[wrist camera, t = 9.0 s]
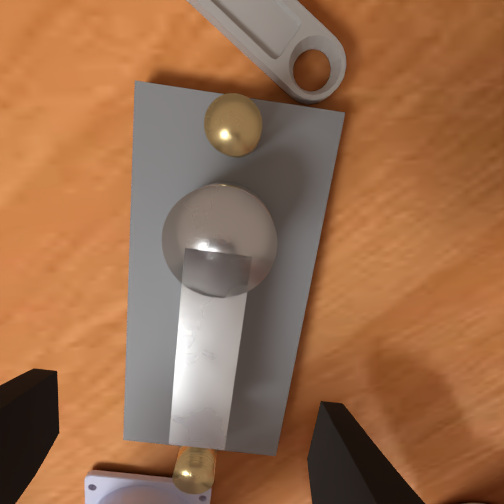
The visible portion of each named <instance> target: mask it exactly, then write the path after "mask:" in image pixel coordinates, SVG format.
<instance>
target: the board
mask: <svg viewBox="0 0 504 504" xmlns="http://www.w3.org/2000/svg"><path fill="white" fill-rule="evenodd" d="M221 95H224V94H220V93H214V92H207V91H200V90H194V89H187V88H181V87H174V86H167V85H161V84H154V83H148V82H141V81H135V92H134V124H133V155H132V186H131V218H130V249H129V280H128V312H127V343H126V374H125V406H124V437H123V440H129V441H138V442H148V443H157V444H166V445H171V444H169V434H170V422H171V410H172V397H173V385H174V373H175V361H176V349H177V336H178V324H179V312H180V300H181V287H182V283H181V282H180V281H179V280H178V279H177V278H176V277H175V276H174V275H173V273H172V272H171V271H170V269H169V267H168V265H167V263H166V261H165V258H164V255H163V251H162V229H163V226H164V222H165V220H166V218H167V215H168V214H169V212H170V210H171V209H172V208H173V206H174V205H175V204H176V203H177V202H178V201H179V200H180V199H181V198H182V197H184V196H185V195H187V194H188V193H190V192H192V191H194V190H196V189H199V188H201V187H204V186H206V185H209V184H212V183H216V182H234V183H238V184H241V185H244V186H246V187H248V188H249V189H251V190H252V191H254V192H255V193H256V194H257V195H258V196H259V197H260V198H261V199H262V200H263V201H264V203H265V205H266V206H267V208H268V210H269V213H270V215H271V218H272V220H273V223H274V226H275V229H276V234H277V253H276V257H275V261H274V263H273V266H272V268H271V270H270V271H269V273H268V274H267V276H266V277H265V278H264V279H263V280H262V282H261V283H260V284H258V285H257V286H256V287H255V288H253V289H251V290H250V291H248V292H247V297H246V304H245V311H244V318H243V325H242V332H241V339H240V346H239V353H238V360H237V367H236V374H235V381H234V388H233V395H232V402H231V408H230V415H229V422H228V429H227V436H226V443H225V450H223V451H232V452H241V453H251V454H260V455H270V456H276V453H277V448H278V443H279V438H280V433H281V428H282V423H283V418H284V413H285V408H286V403H287V398H288V394H289V389H290V384H291V379H292V374H293V369H294V364H295V359H296V354H297V349H298V344H299V339H300V334H301V329H302V324H303V319H304V314H305V309H306V304H307V299H308V295H309V290H310V285H311V280H312V275H313V270H314V265H315V260H316V255H317V250H318V245H319V240H320V235H321V230H322V225H323V220H324V215H325V210H326V205H327V200H328V196H329V191H330V186H331V181H332V176H333V171H334V166H335V161H336V156H337V151H338V146H339V141H340V136H341V131H342V126H343V121H344V116H345V112H339V111H332V110H326V109H319V108H312V107H306V106H299V105H293V104H286V103H280V102H273V101H266V100H260V99H253V98H249V99H251V100H252V101H253V102H254V103H255V105H256V106H257V108H258V109H259V111H260V114H261V117H262V132H261V136H260V139H259V142H258V145H257V147H256V148H255V150H254V151H253V152H252V153H251V154H249V155H247V156H245V157H242V158H233V157H230V156H227V155H225V154H223V153H221V152H219V151H218V150H216V149H215V148H214V147H213V146H212V145H211V144H210V142H209V141H208V139H207V136H206V134H205V129H204V118H205V114H206V111H207V109H208V107H209V105H210V104H211V103H212V102H213V101H214V100H215V99H216V98H218V97H219V96H221ZM176 446H180V445H176Z"/></svg>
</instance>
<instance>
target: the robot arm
mask: <svg viewBox="0 0 504 504" xmlns="http://www.w3.org/2000/svg"><path fill="white" fill-rule="evenodd" d="M58 434H59V411H58V382H57V371H52V370H43V369H32V370H30V371H28V372H26V373H24V374H22V375H20V376H18V377H16V378H14V379H12V380H10V381H8V382H6V383H4V384H2V385H0V504H15V503H16V502H17V500H18V499H19V498H20V496H21V495H22V493H23V492H24V490H25V489H26V488H27V486H28V485H29V483H30V482H31V480H32V479H33V477H34V476H35V475H36V473H37V471H38V469H39V468H40V466H41V464H42V463H43V461H44V459H45V457H46V456H47V454H48V452H49V450H50V449H51V447H52V445H53V443H54V441H55V439H56V438H57V436H58ZM307 460H308V470H309V479H310V488H311V496H312V504H425V503H424V502H423V501H422V500H421V498H420V497H419V496H418V495H417V494H416V493H415V492H414V490H413V489H412V488H411V487H410V486H409V485H408V483H407V482H406V481H405V480H404V479H403V478H402V476H401V475H400V474H399V473H398V472H397V471H396V469H395V468H394V467H393V466H392V464H391V463H390V462H389V461H388V460H387V458H386V457H385V456H384V455H383V454H382V452H381V451H380V450H379V449H378V447H377V446H376V445H375V444H374V442H373V441H372V440H371V439H370V437H369V436H368V435H367V434H366V432H365V431H364V430H363V429H362V427H361V426H360V425H359V423H358V422H357V421H356V420H355V418H354V417H353V416H352V415H351V413H350V412H349V411H348V410H347V408H346V407H345V406H344V405H343V404H342V403H333V402H324V401H321V403H320V408H319V412H318V416H317V420H316V424H315V429H314V433H313V437H312V441H311V446H310V450H309V454H308V458H307ZM211 491H212V487H211V488H210V489H209V490H208V491H206V492H204V493H201V494H187V493H184V492H182V491H180V490H179V489H178V488H177V487H176V486H175V485H174V483H173V479H172V478H169V477H160V476H150V475H140V474H130V473H121V472H111V471H101V470H91V471H89V472H88V473H87V475H86V477H85V504H210V499H211Z"/></svg>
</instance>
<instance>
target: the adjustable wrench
mask: <svg viewBox="0 0 504 504" xmlns="http://www.w3.org/2000/svg"><path fill="white" fill-rule="evenodd" d="M187 1H188V2H189V3H190V4H191V5H192V6H193V7H194V8H195V9H196V10H197V11H198V12H199V13H201V14H202V15H203V16H204V17H205V18H206V19H207V20H208V21H209V22H210V23H211V24H212V25H213V26H215V27H216V28H217V29H218V30H219V31H220V32H221V33H222V34H223V35H224V36H225V37H226V38H228V39H229V40H230V41H231V42H232V43H233V44H234V45H235V46H236V47H237V48H238V49H239V50H240V51H242V52H243V53H244V54H245V55H246V56H247V57H248V58H249V59H250V60H251V61H252V62H253V63H254V64H256V65H257V66H258V67H259V68H260V69H261V70H262V71H263V72H264V73H265V74H266V75H267V76H269V77H270V78H271V79H272V80H273V81H274V82H275V83H276V84H277V85H278V86H279V87H280V88H281V89H283V90H284V91H285V92H286V93H287V94H288V95H289V96H290V97H291V98H293V99H294V100H296V101H297V102H299V103H303V104H308V105H309V104H316V103H319V102H321V101H323V100H325V99H326V98H327V97H328V96H330V95H331V94H332V93H333V92H334V91H335V90H336V89H337V88H338V87H339V85H340V83H341V82H342V80H343V78H344V74H345V70H346V55H345V52H344V49H343V46H342V44H341V43H340V42H339V40H338V39H337V38H336V37H335V36H334V35H333V34H332V33H331V32H330V31H329V30H328V29H327V28H326V27H325V26H324V25H323V24H322V23H320V22H319V21H318V20H317V19H316V18H315V17H314V16H313V15H312V14H311V13H310V12H309V11H308V10H307V9H306V8H305V7H304V6H303V5H301V4H300V3H299V2H298V1H297V0H187ZM310 49H316V50H320V51H321V52H323V53H324V54H325V55H326V56H327V58H328V59H329V62H330V67H331V72H330V77H329V79H328V81H327V83H326V84H325V85H324V86H323V87H322V88H321V89H319V90H317V91H311V92H310V91H305V90H303V89H302V88H300V87H299V86H298V85H297V83H296V82H295V79H294V77H293V67H294V63H295V61H296V59H297V57H298V56H299V55H300V54H301V53H302V52H304V51H306V50H310Z"/></svg>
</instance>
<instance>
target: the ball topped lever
mask: <svg viewBox="0 0 504 504" xmlns="http://www.w3.org/2000/svg"><path fill="white" fill-rule="evenodd" d="M162 251H163V255H164V258H165V261H166V263H167V265H168V267H169V269H170V271H171V272H172V273H173V275H174V276H175V277H176V278H177V279H178V280H179V281H180V282H181V283H182V287H181V300H180V312H179V324H178V336H177V349H176V361H175V373H174V385H173V397H172V410H171V422H170V434H169V444H171V445H180V446H190V447H199V448H208V449H218V450H225V443H226V436H227V429H228V422H229V415H230V408H231V402H232V395H233V388H234V381H235V374H236V367H237V360H238V353H239V346H240V339H241V332H242V325H243V318H244V311H245V304H246V297H247V292H248V291H250V290H251V289H253V288H255V287H256V286H257V285H258V284H260V283H261V282H262V280H263V279H264V278H265V277H266V276H267V274H268V273H269V271H270V270H271V268H272V266H273V263H274V261H275V257H276V253H277V234H276V229H275V226H274V223H273V220H272V218H271V215H270V213H269V210H268V208H267V206H266V205H265V203H264V201H263V200H262V199H261V198H260V197H259V196H258V195H257V194H256V193H255V192H254V191H252V190H251V189H249V188H248V187H246V186H244V185H241V184H238V183H234V182H216V183H212V184H209V185H206V186H204V187H201V188H199V189H196V190H194V191H192V192H190V193H188V194H187V195H185V196H184V197H182V198H181V199H180V200H179V201H178V202H177V203H176V204H175V205H174V206H173V208H172V209H171V210H170V212H169V214H168V215H167V218H166V220H165V222H164V226H163V229H162Z"/></svg>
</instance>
